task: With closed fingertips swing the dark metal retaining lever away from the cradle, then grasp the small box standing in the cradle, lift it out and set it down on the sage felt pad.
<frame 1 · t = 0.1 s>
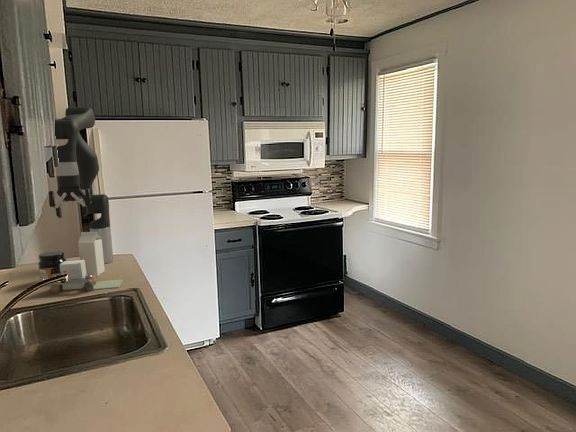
hand: (72, 216, 163), 29 cm above the table, fingers open, 8 cm apart
pad: (107, 284, 174), on the table
lever: (65, 280, 165), point 5 cm above the table, hinge at 0.0°
supplement container: (54, 281, 181), on the table
small box: (75, 287, 172), resting in cradle
cradle: (75, 287, 172), on the table
milk carton: (93, 274, 190), on the table
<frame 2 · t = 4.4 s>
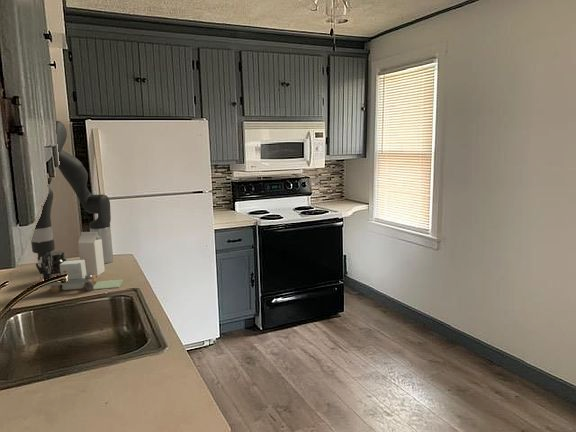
hand: (47, 282, 165), 4 cm above the table, fingers closed
lever: (65, 280, 164), point 5 cm above the table, hinge at 1.9°, touching gripper
everything else where it was.
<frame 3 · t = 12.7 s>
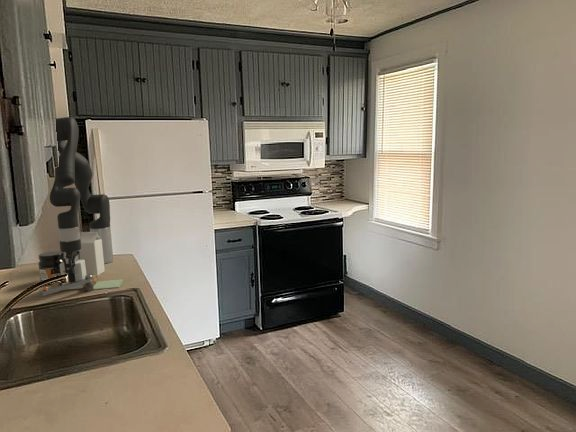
hand: (74, 279, 171), 3 cm above the table, fingers closed on small box, 5 cm apart
lever: (67, 284, 159), point 5 cm above the table, hinge at 43.8°
small box: (75, 287, 172), resting in cradle, touching gripper
everything else where it was.
when the fingers open (5 cm above the table, at t = 18.5 s): small box drops 1 cm, resting on pad.
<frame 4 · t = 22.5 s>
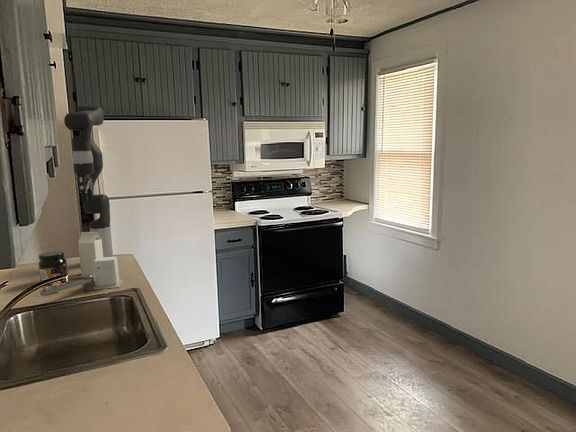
hand: (87, 201, 179), 33 cm above the table, fingers open, 8 cm apart
small box: (107, 284, 174), resting on pad
everything else where it was.
at the end: small box inside the target area on the pad (0.3 cm from its centre), point 0.2 cm above the pad's base; small box tilted 0°; lever at +44° (first picture: +0°) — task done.
